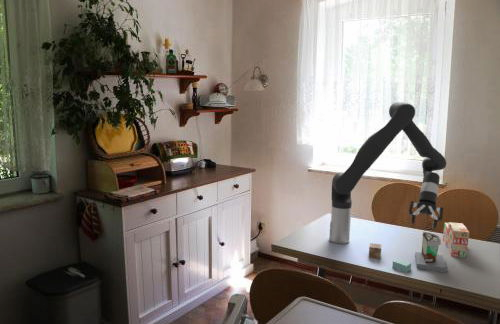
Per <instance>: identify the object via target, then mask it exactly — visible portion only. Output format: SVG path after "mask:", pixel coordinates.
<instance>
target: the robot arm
mask: <svg viewBox="0 0 500 324" xmlns="http://www.w3.org/2000/svg"><path fill="white" fill-rule="evenodd" d="M388 114H389V117H390V120H388V122H387V123H386V124H385V125H384V126H382V127H381V128H380V129H379V130H377V131H376V132H374V133H373V134H372V135H370V136H369V137H368V138H367V139H366V140H365V142H363V144H362V145H361V146H360V148H359V149H358V151H357V153H356V155H355V157H354V158H353V161H352V163H351V164H350V166H348V168H346V170H345V171H344V172H342V171H341V172H337V173H336V174H335V175H334V176H333V178H332V180H331V213H330V214H331V215H330V223H329V237H328V239H329V240H328V241H329V242H331V243H332V242H333V243H335V244H341V245H343V244H344V245H345V244H348V243H349V242H350V236H351V235H350V234H351V233H350V232H351V219H352V204H353V201H352V195H351V194H352V191H353V190H354V189H355V187H356V186H357V184H358V183H359V181H360V180H361V178H362V177H363V175H364V174H365V173H366V172H367V171H368V170H369V169H370V168H371V166H372V165H373V164H374V163H375V162H376V161H377V159H379V157H380V156H381V155H382V154H383V153H384V151H385V150H386V149H387V148H388V146H389V145H390V144H391V143H392V142H393V141H394V140H395V138H396V137H397V136H398V135H399V134H400V133H401V132H403V133H404V134H405V135H406V137H407V139H409V141H410V143H411V144H412V145H413V148H414V149H415V150H416V152H417V154H418V155H419V156H420V157H421V158H423V160H422V163H421V166H422V167H421V168H422V174H423V177H422V183H421V187H420V191H419V197H418V202H415V201H413V200H412V201H411V202H410V205H409V210H408V216H411V218H410V219H411V220H410V223H411V224H412V225H415V222H416V221H415V220H416V217H417V216H418V215H419V214H420V213H421V215H426V216H429V215H430V217H431V218H432V219H433V222H432V228H431V229H432V230H434V229H436V227H437V225H438V224H437V223H438V222H442V220H443V215H444V207H442V206H441V207H439V206H437V202H438V201H437V200H438V195H439V184H440V175H439V174H438V173H436V172H434V171H440V170H441V171H442V170H444V169H446V166H447V160H446V158H445V157H444V155H443V154H442V153H441V152H439V151H438V149H436V148H435V147H433V145H432V143H431V142H430V139H428V136H426V134H424V133H425V132H423V131H422V130H421V129H420V128H419V127H418V126H417V125H416V124H415V122H414V121H413V119H414V117H415V115H416V108H415V107H414V105H412V104H410V103H407V102H404V101H395V102H393V103H391V105H390V106H389V110H388ZM415 207H416V208H417V209H416V210H415V211H413V208H415ZM436 211H437V213H438V216H437V215H436V213H435V212H436Z"/></svg>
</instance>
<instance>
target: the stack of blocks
mask: <svg viewBox="0 0 500 324" xmlns="http://www.w3.org/2000/svg"><path fill="white" fill-rule="evenodd" d="M442 235H443V236H442V242H443V243H444V245H445V247H446V249H447V250H448V253H449V254H450V257H454V258H455V257H457V258H464V259H465V258H467V253H468V245H469V238H470V231H469V229H468V228H467V226H466V225H464V223H463V222H462V223H461V222H460V223H459V222H452V221H451V222H450V221H449V222H444V223H443V234H442Z"/></svg>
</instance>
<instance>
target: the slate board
mask: <svg viewBox="0 0 500 324" xmlns="http://www.w3.org/2000/svg"><path fill="white" fill-rule="evenodd" d="M414 258H415V259H414V260H415V263H416V264H415V265H416V269H419V270H427V271H433V272H440V273H446V272H447V265H446V263H445V259H444V256H443V254H437V257H436V261H435V262H433V263H425V261H424V259H423V257H422V251H421V252H420V251H415V253H414Z"/></svg>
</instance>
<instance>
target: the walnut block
mask: <svg viewBox="0 0 500 324" xmlns="http://www.w3.org/2000/svg"><path fill="white" fill-rule="evenodd" d="M381 255H382V244H380V243H371V242H370V243H369V248H368V258H369V259H376V260H381V257H382V256H381Z"/></svg>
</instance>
